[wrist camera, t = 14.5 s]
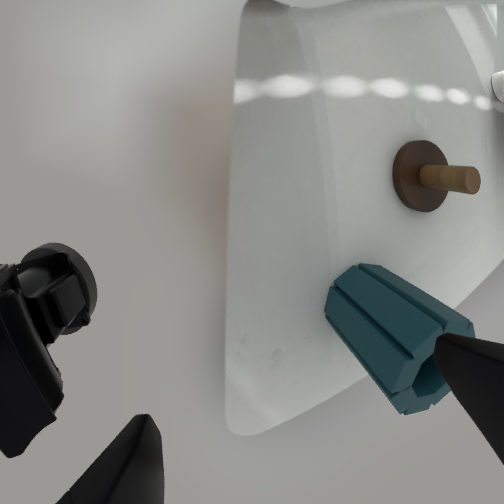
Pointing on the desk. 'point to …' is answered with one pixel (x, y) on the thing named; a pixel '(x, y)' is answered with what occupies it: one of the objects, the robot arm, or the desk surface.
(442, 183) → the dowel stand
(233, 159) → the desk surface
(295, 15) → the desk surface
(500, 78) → the cup
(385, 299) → the sleeve
